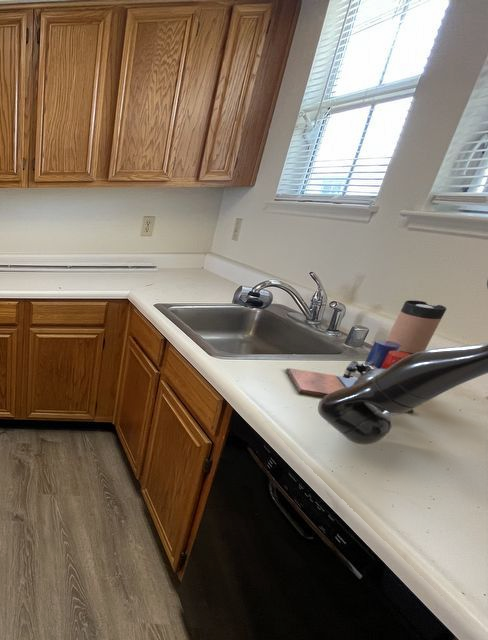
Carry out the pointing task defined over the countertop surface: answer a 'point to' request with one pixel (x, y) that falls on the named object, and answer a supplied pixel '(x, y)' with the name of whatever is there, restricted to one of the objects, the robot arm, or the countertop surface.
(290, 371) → the sorting board
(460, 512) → the countertop surface
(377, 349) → the cylinder
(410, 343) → the travel mug
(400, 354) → the cylinder
